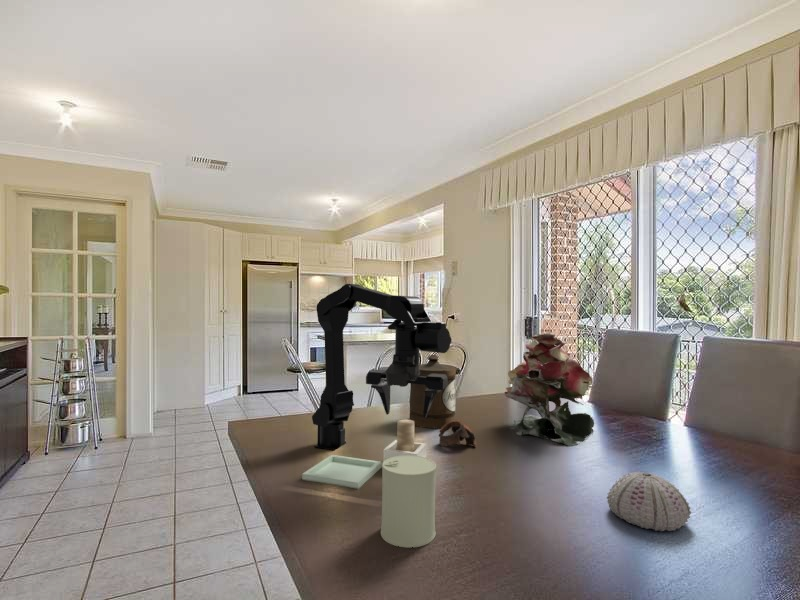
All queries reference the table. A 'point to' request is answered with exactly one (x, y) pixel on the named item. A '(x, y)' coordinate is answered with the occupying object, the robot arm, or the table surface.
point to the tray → (343, 471)
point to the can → (408, 501)
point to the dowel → (405, 435)
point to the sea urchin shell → (648, 502)
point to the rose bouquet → (550, 391)
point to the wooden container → (442, 402)
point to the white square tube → (392, 451)
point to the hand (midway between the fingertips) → (406, 416)
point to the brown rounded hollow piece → (456, 434)
